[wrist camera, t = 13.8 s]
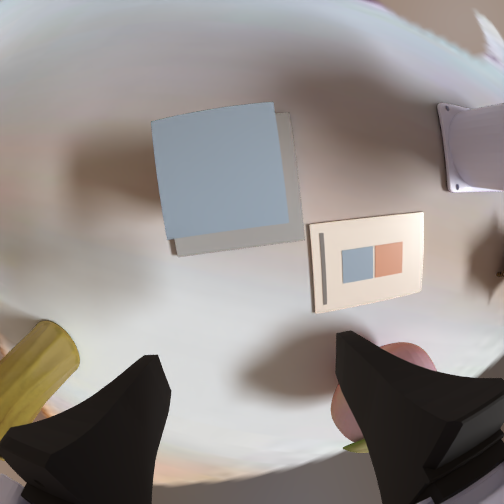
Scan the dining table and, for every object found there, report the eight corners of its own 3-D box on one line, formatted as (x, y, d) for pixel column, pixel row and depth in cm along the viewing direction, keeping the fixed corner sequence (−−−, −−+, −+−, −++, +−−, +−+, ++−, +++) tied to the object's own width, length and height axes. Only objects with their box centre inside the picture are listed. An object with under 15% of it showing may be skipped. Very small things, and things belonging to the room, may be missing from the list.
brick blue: (262, 130, 13) (273, 101, 8) (272, 209, 14) (289, 223, 9) (182, 142, 13) (150, 121, 8) (192, 220, 14) (167, 239, 9)
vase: (58, 375, 22) (-5, 461, 9) (27, 328, 21) (-54, 402, 7) (91, 365, 22) (22, 470, 8) (56, 312, 21) (-40, 400, 7)
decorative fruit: (349, 409, 24) (381, 481, 15) (303, 373, 23) (330, 462, 13) (420, 351, 23) (474, 410, 13) (385, 303, 21) (453, 368, 12)
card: (422, 211, 20) (423, 212, 19) (419, 290, 21) (421, 291, 21) (309, 224, 20) (309, 224, 19) (315, 312, 21) (315, 314, 21)
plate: (288, 114, 18) (289, 112, 17) (303, 238, 20) (304, 240, 19) (161, 132, 18) (159, 131, 17) (179, 255, 20) (177, 257, 19)
